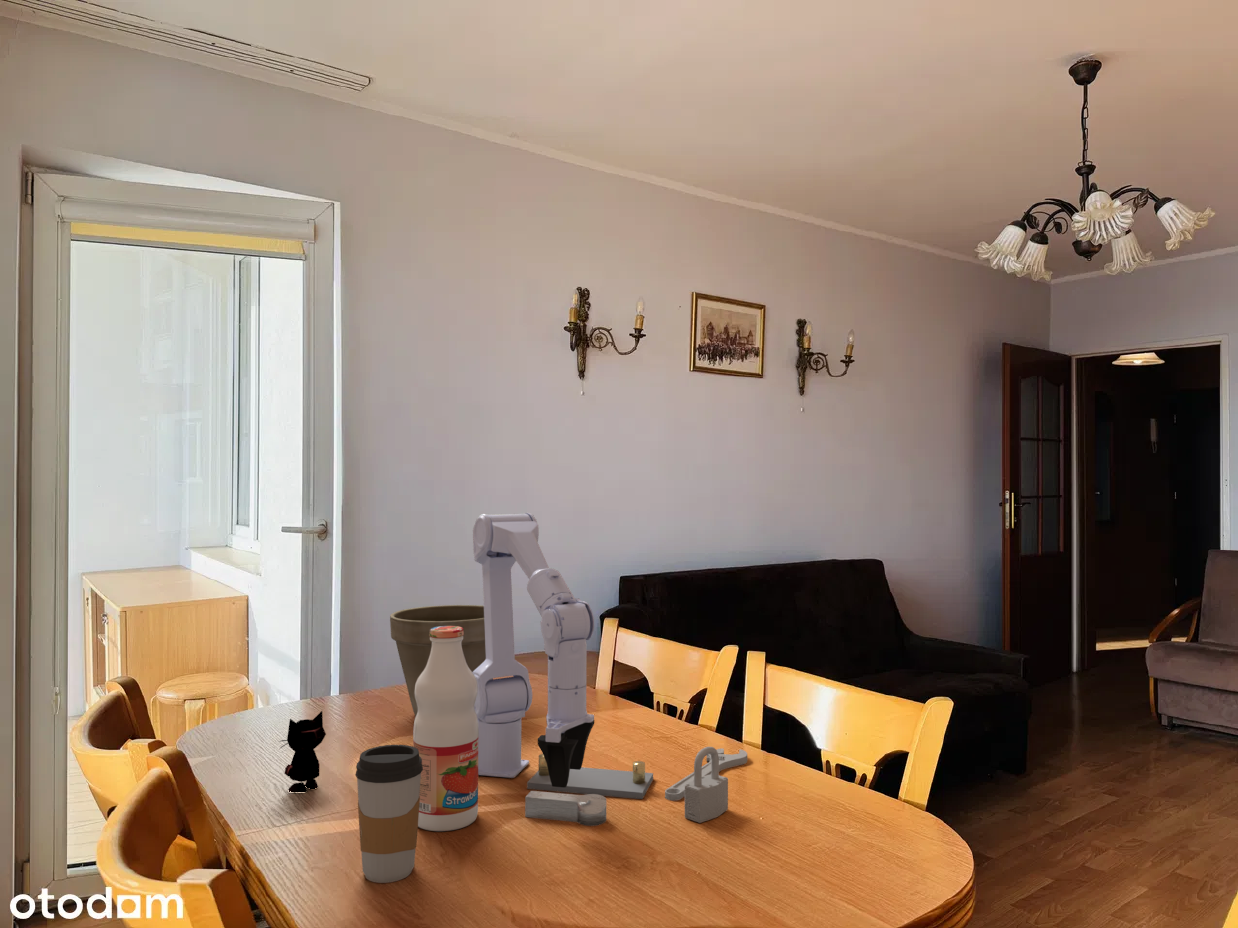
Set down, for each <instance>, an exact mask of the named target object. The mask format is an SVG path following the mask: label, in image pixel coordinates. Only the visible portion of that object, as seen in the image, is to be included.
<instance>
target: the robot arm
mask: <svg viewBox="0 0 1238 928" xmlns="http://www.w3.org/2000/svg"><path fill="white" fill-rule="evenodd" d="M539 529H540V528H539V524H538V521H537V519H536V518H535V516H534V514H532V513H531V512H525V513H516V514H515V513H505V514H502V513H501V514H487V513H482V514H479V516H478V517H477V518H476V521H475V523H474V525H473V528H472V544H473V545H472V547H473V549H472V550H473V556H474V559H473V560H474V561H475V562H476V563H478V564H481V570H482V590H483V591H482V595H483V606H484V624H485V649H486V660H485V661H484V662H483V663H482V664H481V665H480V666H479V667H477V668H476V669H475V670H474V671H473V672H472V673H473V674H474V676H475V678H476V680H477V686H478V692H477V697H476V701H475V704H474V709H475V712H476V714H477V718H478V729H479V737H478V776H487V777H496V778H497V777H498V778H499V777H500V778H508V779H510V778H511V779H513V778H516V777H517V776H518V775H519V773H520V772H522V771H523V770H524V769H525V767H527V766H528V765H529V764H530V760H529V759H522V719H523V718H525V717H526V712H528V711H529V709H530V707H531V706H532V703H533V688H532V685H531V681H530V675H529V669H528V668H527V667H526V666H525V665H523V664H522V663H521V662H519V661H518V660H516V658H515V655H516V654H515V635H514V612H513V610H514V609H513V591H512V590H513V589H512V586H513V585H512V568H513V566H514V565H515V563H517V564H518V565H519V567H520V568H521V569H522V571H523V572H524V574H525V575H526V577H527V579H528V582H527V583H526V585H527V586H526V590H527V592H528V594H529V597H530V598H531V600H532V602H533V603H534V606H535V608H536V609H537V612H538V613H539V615H540V616H541V621H540V630H541V636H542V638H543V647H544V648H543V649H544V653H545V654H546V655H547V714H546V717H545V718H546V727H545V734H541V735H540V736H538V738H537V746H538V748H539V749H540V751H541V754H543V755H544V758H545V760H546V763H547V767H548V772H549V776H550V780H551V784H552V786H553V787H563V788H565V787H566V786H567V783H568V779H569V772H570V769H576V770H580V769H581V767H582V766H583V762H584V758H585V753H586V748H587V743H588V741H589V737H590V734H591V731H592V729H593V727H594V726H595V714H591V713H588V711H587V641H589V640H590V639H591V638H592V636H593V634H594V630H595V618H594V617H595V616H594V613H593V611H592V609H591V606H590V604H589V603H588V602H587V601H584V600H581V599H580V598H577V597H575V596H574V594H573V593H572V590H571V589H570V587H568V585H567V583H566V581H565V579H564V577H563V576H562V575H561V573H560V572H559V570H557V569H555V568H552V567H551V568H550V567H549V565H548V563H547V560H546V557H545V556H544V553H543V552H542V549H541V547H540V545H539V533H540V532H539ZM492 678H493V679H492ZM489 679H492V680H489Z"/></svg>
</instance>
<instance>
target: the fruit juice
mask: <svg viewBox="0 0 1238 928" xmlns="http://www.w3.org/2000/svg"><path fill="white" fill-rule="evenodd" d="M463 635H464V631H463V628H462V627H458V626H439V627H434V628H431V629H430V640H431V641H432V648H431V653H430V656H429V659H428V662H427V665H426V667H425V669H424V671H423V672H422V673H421V675H420V676H419V677H418V679H417V681H416V684H415V699H416V703H417V706H418V712H417V715H416V716H415V717H414V723H413V729H412V731H413V732H412V737H413V739H412V741H413V742H412V743H413V744H412V745H413V747H415V748H417V749H418V750H419V756H420V757H421V758H422V766H423V771H422V772H421V779H420V793H419V796H420V803H419V817H418V828H420V829H423V830H425V831H430V832H431V831H432V832H450V831H455V830H459V829H462V828H466V827H467V826H470V825H472V824H473V823H474V822H475V821H476V819H477V816H478V814H479V775H478V737H479V729H478V718H477V714H476V712H475V709H474V704H475V701H476V697H477V692H478V686H477V680H476V678H475V676H474V674H473V673H472V671H471V670H470V669H469V667H468V665H467V663H466V660H465V657H464V654H463V650H462V645H461V641H462V640H463Z"/></svg>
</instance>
